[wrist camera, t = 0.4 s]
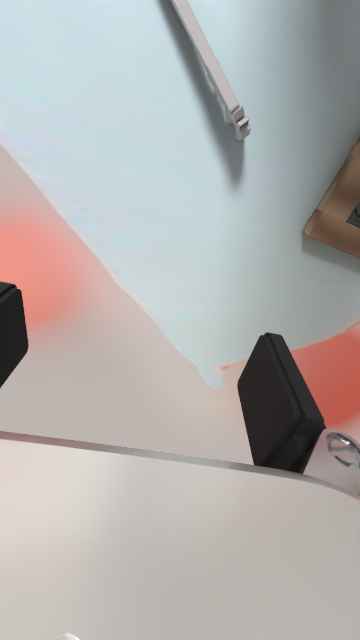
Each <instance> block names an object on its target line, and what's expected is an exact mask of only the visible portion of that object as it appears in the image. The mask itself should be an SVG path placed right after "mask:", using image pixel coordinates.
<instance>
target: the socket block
mask: <svg viewBox="0 0 360 640" xmlns="http://www.w3.org/2000/svg"><path fill="white" fill-rule="evenodd" d="M359 202H360V139H359V140H358V142H357V143H356V145H355V147H354V148H353V150H352V151H351V153H350V155H349V156H348V158H347V159H346V161H345V163H344V164H343V166H342V168H341V169H340V171H339V172H338V174H337V176H336V177H335V179H334V180H333V182H332V184H331V185H330V187H329V188H328V190H327V192H326V193H325V195H324V196H323V198H322V200H321V201H320V203H319V205H318V206H317V208H316V209H315V211H314V213H313V214H312V216H311V217H310V219H309V221H308V222H307V224H306V225H305V227H304V229H303V230H302V232H303V233H305V234H306V235H307V236H309V237H311V238H313V239H316V240H318V241H320V242H323V243H325V244H328V245H330V246H332V247H335V248H337V249H339V250H342V251H344V252H347V253H349V254H351V255H354V256H356V257H359V258H360V228H359V227H357V226H355V225H353V224H350V223H348V222H346V220H347V219H348V217H349V216H350V215H351V213H352V212H353V210H354V209H355V207H356V206H357V205H358V203H359Z"/></svg>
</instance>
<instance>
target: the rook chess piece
mask: <svg viewBox="0 0 360 640" xmlns="http://www.w3.org/2000/svg"><path fill="white" fill-rule="evenodd" d="M357 214H358V215H359V217H360V202H359V203H358V205H357Z"/></svg>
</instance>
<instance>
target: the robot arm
mask: <svg viewBox="0 0 360 640" xmlns="http://www.w3.org/2000/svg"><path fill="white" fill-rule="evenodd" d="M27 350H28V338H27V330H26V324H25V315H24V307H23V300H22V293H21V290H20V289H17V287H16V285H14V284H10V283H5V282H0V388H1V386H2V385H3V384H4V382H5V381H6V380H7V378H8V377H9V376H10V374H11V373H12V371H13V370H14V369H15V368H16V366H17V365H18V364H19V362H20V361H21V360H22V358H23V357H24V356H25V354H26V353H27ZM238 393H239V397H240V402H241V406H242V411H243V416H244V421H245V425H246V430H247V435H248V439H249V444H250V448H251V453H252V458H253V462H254V465H248V464H242V463H236V462H228V461H221V460H214V459H207V458H200V457H192V456H185V455H178V454H171V453H163V452H156V451H148V450H141V449H133V448H126V447H119V446H112V445H104V444H97V443H89V442H81V441H74V440H66V439H58V438H51V437H42V436H35V435H28V434H19V433H12V432H3V431H0V640H360V444H359V443H358V442H357V441H356V440H355V439H353V438H352V437H351V436H349V435H348V434H346V433H345V432H343V431H340V430H338V429H333V428H328V429H327V428H326V426H325V424H324V419H323V417H322V415H321V413H320V411H319V409H318V407H317V405H316V403H315V401H314V399H313V397H312V395H311V393H310V391H309V389H308V387H307V385H306V383H305V381H304V379H303V377H302V375H301V373H300V371H299V369H298V367H297V365H296V363H295V361H294V359H293V357H292V355H291V353H290V351H289V349H288V347H287V345H286V343H285V341H284V339H283V337H282V336H281V335H278V334H273V333H265V334H264V335H261V336H260V337H259V339H258V341H257V343H256V345H255V347H254V349H253V351H252V353H251V355H250V358H249V360H248V362H247V364H246V366H245V368H244V370H243V372H242V374H241V376H240V378H239V380H238Z"/></svg>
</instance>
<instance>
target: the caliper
mask: <svg viewBox="0 0 360 640" xmlns="http://www.w3.org/2000/svg"><path fill="white" fill-rule="evenodd" d="M171 2H172V4H173V6H174V8H175V10H176V12H177V14H178V16H179V18H180V20H181V22H182V24H183V26H184V28H185V30H186V32H187V34H188V36H189V38H190V40H191V42H192V44H193V46H194V48H195V49H196V51H197V53H198V55H199V57H200V59H201V61H202V63H203V65H204V67H205V69H206V71H207V74H208V78H209V80H210V82H211V83H212V85H213V87H214V89H215V91H216V93H217V95H218V97H219V99H220V100H221V102H222V104H223V106H224V108H225V113H226V117H227V121H228V123H229V125H231V124H232V123H233V124H234V126H235V128H236V132H235V137H236V139H237V140H238V141H239V140H243V139H244V138H245V137H246V136H248V135H249V134H250V129H251V128H250V126H249V124H248V121H249V119H248V117H246V116H245V117H244V110H243V106H241V107H239V103H238V101H237V99H236V97H235V95H234V93H233V91H232V89H231V87H230V85H229V83H228V81H227V79H226V77H225V75H224V73H223V71H222V69H221V67H220V65H219V63H218V60H217V58H216V57H215V56H214V54H213V52H212V50H211V48H210V46H209V44H208V42H207V40H206V38H205V36H204V34H203V32H202V30H201V28H200V26H199V24H198V22H197V20H196V18H195V16H194V14H193V12H192V10H191V8H190V6H189V4H188V2H187V0H171Z"/></svg>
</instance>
